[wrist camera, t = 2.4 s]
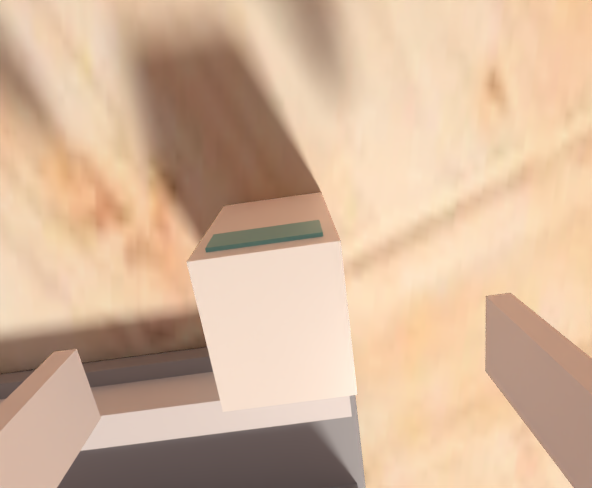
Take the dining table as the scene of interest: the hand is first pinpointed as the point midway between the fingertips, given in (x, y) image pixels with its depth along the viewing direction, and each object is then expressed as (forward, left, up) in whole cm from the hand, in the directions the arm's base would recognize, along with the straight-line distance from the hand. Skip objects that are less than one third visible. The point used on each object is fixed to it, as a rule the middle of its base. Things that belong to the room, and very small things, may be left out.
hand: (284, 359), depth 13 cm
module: (0, 0, -9) cm, 9 cm away
